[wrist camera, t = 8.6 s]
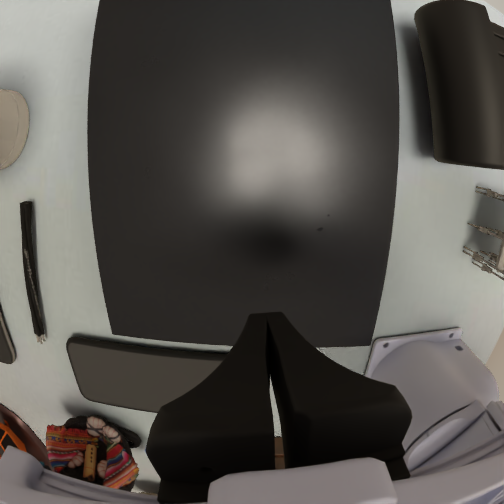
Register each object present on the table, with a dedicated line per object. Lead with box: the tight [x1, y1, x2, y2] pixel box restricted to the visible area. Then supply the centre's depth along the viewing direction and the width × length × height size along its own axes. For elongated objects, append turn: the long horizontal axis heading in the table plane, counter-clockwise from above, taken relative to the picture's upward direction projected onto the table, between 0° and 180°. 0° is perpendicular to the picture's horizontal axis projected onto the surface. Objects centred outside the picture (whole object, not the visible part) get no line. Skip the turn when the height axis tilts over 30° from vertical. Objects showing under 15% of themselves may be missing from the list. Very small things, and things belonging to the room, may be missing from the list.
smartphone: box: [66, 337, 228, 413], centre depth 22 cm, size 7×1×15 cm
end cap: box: [414, 0, 504, 170], centre depth 13 cm, size 10×7×7 cm
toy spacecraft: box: [0, 404, 54, 472], centre depth 26 cm, size 12×20×6 cm, turn 169°
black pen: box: [20, 201, 45, 344], centre depth 19 cm, size 12×1×1 cm, turn 170°
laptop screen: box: [87, 0, 399, 347], centre depth 15 cm, size 17×22×1 cm
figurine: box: [40, 415, 141, 492], centre depth 18 cm, size 10×7×15 cm
